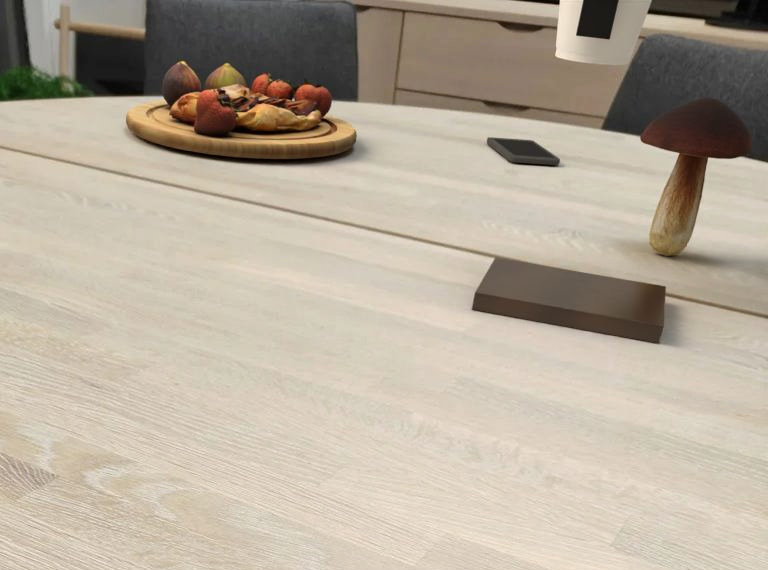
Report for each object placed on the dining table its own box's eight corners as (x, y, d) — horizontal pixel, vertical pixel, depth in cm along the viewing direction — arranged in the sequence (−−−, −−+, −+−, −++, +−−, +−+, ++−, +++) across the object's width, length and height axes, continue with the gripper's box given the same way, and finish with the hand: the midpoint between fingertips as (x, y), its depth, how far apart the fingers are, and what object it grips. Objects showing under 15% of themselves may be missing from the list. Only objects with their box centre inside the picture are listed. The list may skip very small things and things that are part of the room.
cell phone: (531, 145, 151) (532, 139, 151) (560, 165, 140) (562, 160, 140) (485, 142, 150) (486, 136, 150) (510, 162, 139) (511, 156, 139)
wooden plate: (282, 177, 122) (287, 101, 117) (77, 132, 133) (74, 61, 128) (392, 143, 144) (401, 78, 140) (209, 107, 156) (211, 46, 151)
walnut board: (661, 302, 93) (666, 286, 92) (658, 343, 84) (664, 325, 83) (492, 273, 96) (495, 257, 95) (471, 309, 87) (474, 292, 86)
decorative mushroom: (671, 274, 101) (722, 109, 92) (591, 244, 108) (630, 88, 99) (738, 264, 106) (791, 107, 97) (657, 236, 113) (700, 87, 104)
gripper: (634, -302, 81) (568, 19, 95) (615, -365, 64) (537, 37, 78) (730, -298, 80) (648, 28, 93) (735, -362, 63) (635, 49, 76)
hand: (598, 32), depth 85 cm, fingers closed on foam cup, 9 cm apart
